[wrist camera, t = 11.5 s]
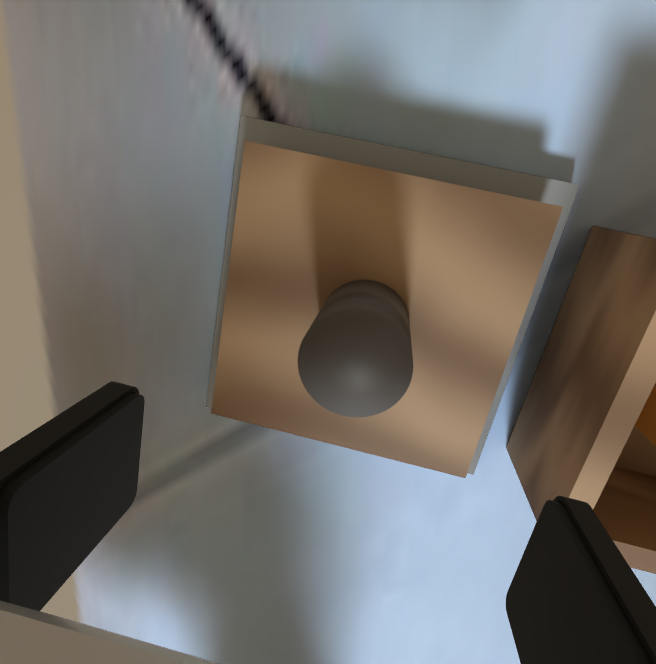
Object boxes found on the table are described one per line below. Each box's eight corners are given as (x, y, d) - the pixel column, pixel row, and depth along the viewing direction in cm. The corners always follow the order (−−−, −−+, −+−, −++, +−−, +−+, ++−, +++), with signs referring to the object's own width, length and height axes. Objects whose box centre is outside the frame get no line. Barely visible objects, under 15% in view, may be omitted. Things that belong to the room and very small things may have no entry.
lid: (459, 454, 24) (483, 558, 17) (225, 395, 25) (162, 472, 18) (547, 204, 19) (624, 214, 13) (258, 144, 20) (193, 126, 14)
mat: (470, 463, 25) (473, 474, 24) (212, 398, 26) (206, 406, 25) (571, 184, 20) (580, 184, 19) (247, 118, 21) (240, 115, 20)
